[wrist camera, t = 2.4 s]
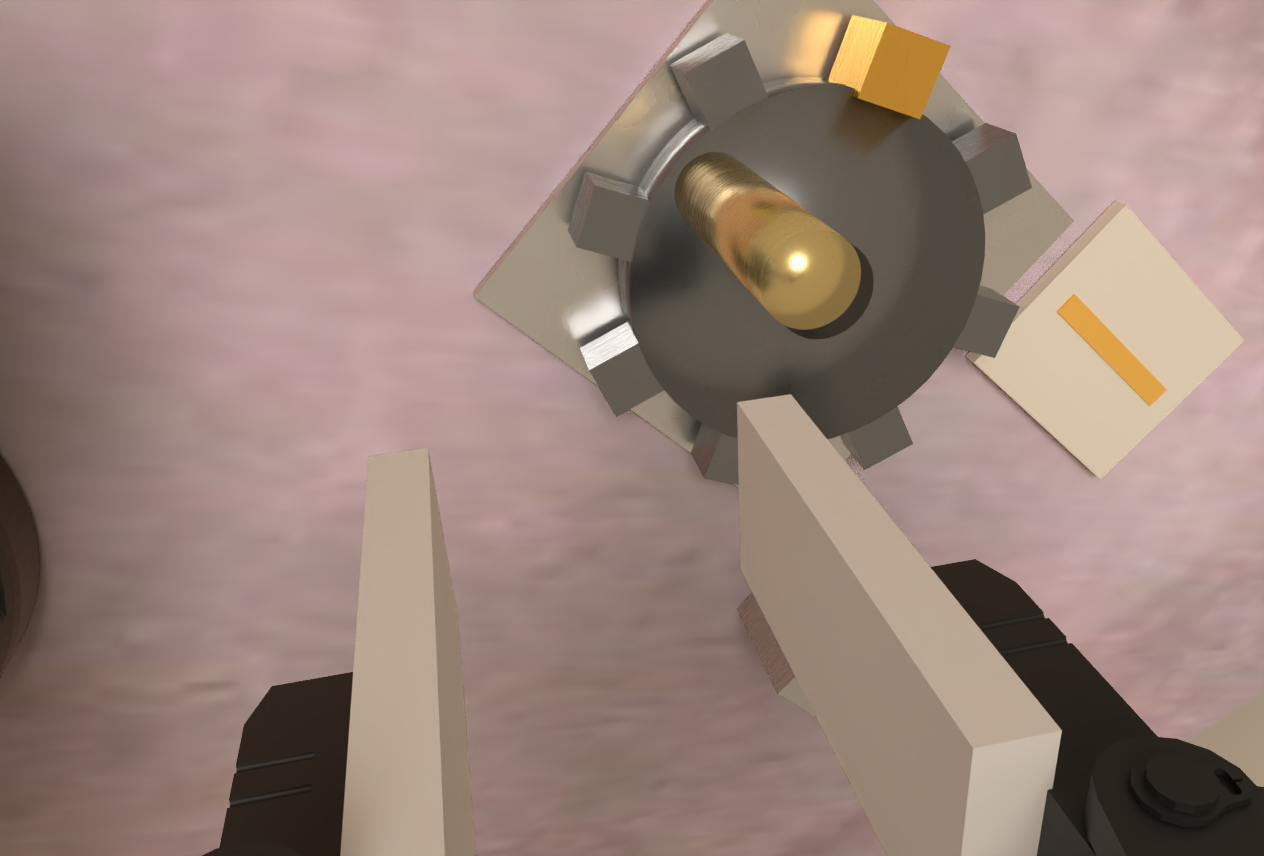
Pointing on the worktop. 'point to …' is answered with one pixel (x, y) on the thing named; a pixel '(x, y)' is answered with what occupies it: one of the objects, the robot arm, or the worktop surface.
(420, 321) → the worktop surface
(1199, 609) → the worktop surface
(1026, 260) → the sprocket base
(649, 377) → the sprocket
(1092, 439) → the marked pad
